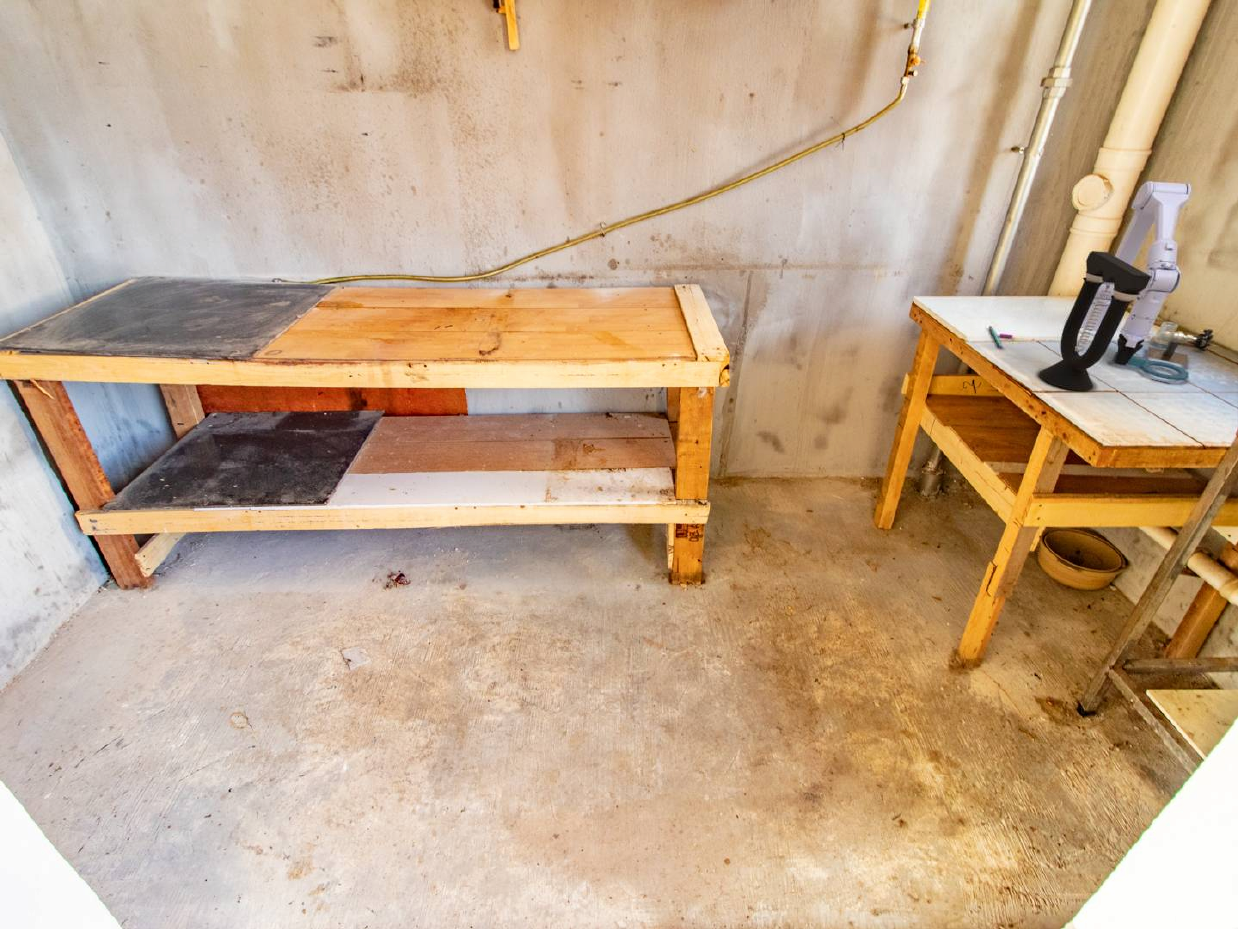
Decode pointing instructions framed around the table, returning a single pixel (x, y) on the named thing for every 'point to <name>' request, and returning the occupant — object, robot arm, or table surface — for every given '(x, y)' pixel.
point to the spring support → (1126, 289)
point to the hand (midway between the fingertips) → (1119, 363)
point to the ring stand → (1168, 353)
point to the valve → (1182, 336)
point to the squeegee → (997, 337)
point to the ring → (1144, 365)
